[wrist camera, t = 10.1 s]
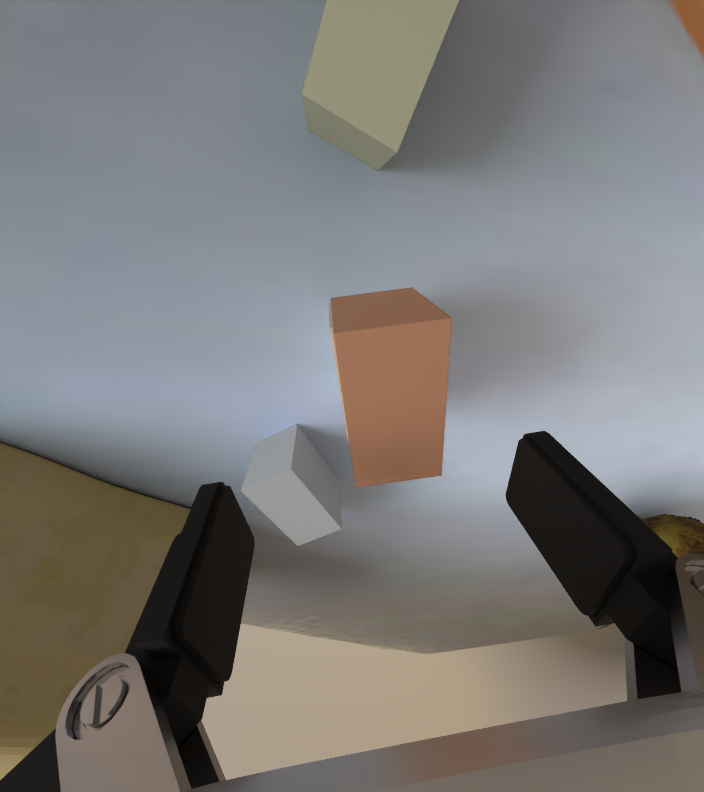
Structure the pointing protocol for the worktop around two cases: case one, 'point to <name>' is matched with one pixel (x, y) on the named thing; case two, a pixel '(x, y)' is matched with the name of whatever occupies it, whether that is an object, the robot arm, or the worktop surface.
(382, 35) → the sage brick
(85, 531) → the cheese
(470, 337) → the worktop surface
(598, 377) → the worktop surface
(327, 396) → the worktop surface
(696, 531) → the potato
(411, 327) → the terracotta brick
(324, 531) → the slate brick
